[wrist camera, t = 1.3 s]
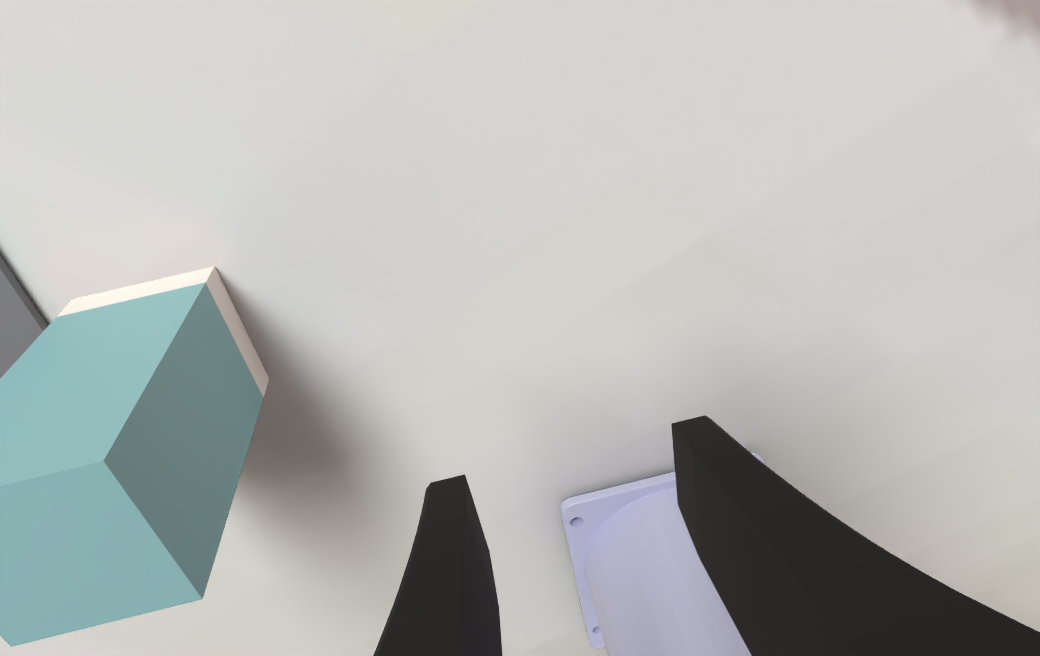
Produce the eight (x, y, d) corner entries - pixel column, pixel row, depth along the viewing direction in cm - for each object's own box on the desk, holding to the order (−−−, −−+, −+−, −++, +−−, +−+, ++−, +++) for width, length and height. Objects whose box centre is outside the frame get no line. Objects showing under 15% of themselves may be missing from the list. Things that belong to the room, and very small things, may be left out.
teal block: (269, 378, 20) (202, 599, 14) (142, 408, 20) (11, 646, 14) (214, 266, 18) (103, 461, 12) (72, 299, 18) (-125, 516, 11)
